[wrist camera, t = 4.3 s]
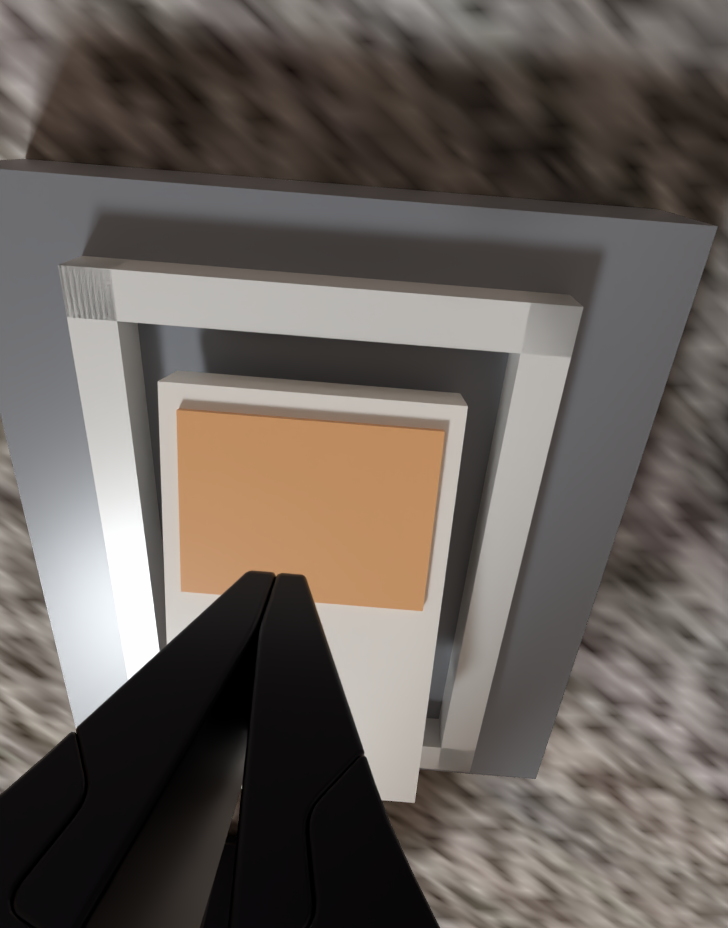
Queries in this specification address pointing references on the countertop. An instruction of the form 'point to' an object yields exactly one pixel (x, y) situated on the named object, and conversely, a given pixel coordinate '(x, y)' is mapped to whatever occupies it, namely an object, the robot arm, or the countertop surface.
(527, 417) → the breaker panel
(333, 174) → the countertop surface
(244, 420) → the rocker switch
